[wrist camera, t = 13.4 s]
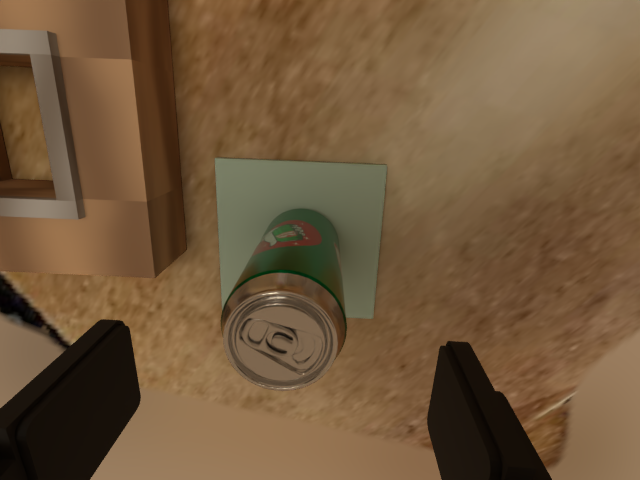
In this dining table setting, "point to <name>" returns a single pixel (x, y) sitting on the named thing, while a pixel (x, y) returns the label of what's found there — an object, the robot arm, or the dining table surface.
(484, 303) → the dining table surface
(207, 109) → the dining table surface
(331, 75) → the dining table surface
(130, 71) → the housing
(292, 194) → the mat
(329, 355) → the soda can
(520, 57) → the dining table surface
